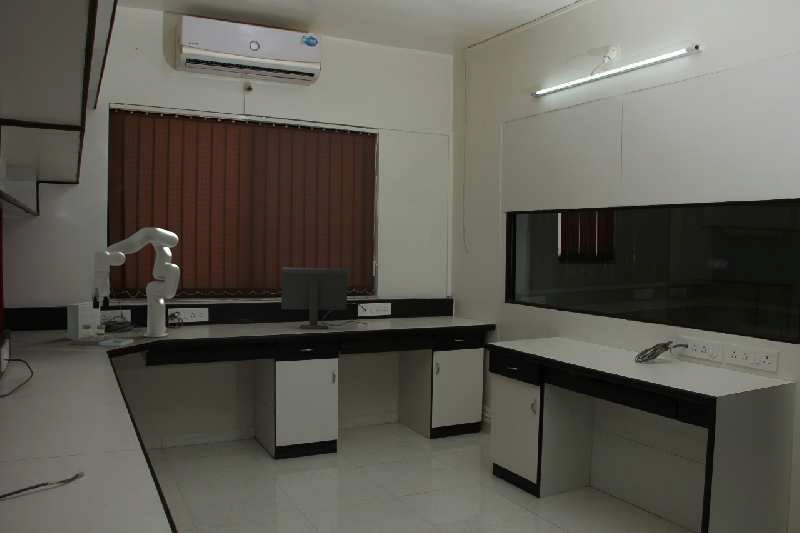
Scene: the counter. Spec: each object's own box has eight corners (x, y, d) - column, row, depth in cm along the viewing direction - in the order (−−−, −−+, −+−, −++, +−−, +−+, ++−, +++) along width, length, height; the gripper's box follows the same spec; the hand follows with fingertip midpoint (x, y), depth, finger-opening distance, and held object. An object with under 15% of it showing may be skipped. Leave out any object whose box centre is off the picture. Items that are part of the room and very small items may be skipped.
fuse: (85, 341, 328) (85, 324, 328) (92, 341, 328) (92, 324, 327) (81, 342, 324) (81, 325, 324) (88, 342, 324) (88, 325, 324)
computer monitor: (346, 326, 427) (347, 268, 426) (346, 329, 411) (347, 269, 410) (282, 325, 424) (283, 267, 423) (279, 328, 408) (280, 267, 407)
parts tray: (112, 343, 330) (113, 338, 330) (133, 343, 330) (133, 339, 329) (99, 347, 316) (99, 342, 316) (120, 348, 316) (120, 343, 315)
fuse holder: (87, 341, 334) (88, 334, 334) (115, 342, 333) (115, 335, 333) (71, 346, 318) (71, 338, 318) (99, 346, 317) (99, 339, 317)
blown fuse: (99, 341, 328) (99, 324, 327) (106, 342, 327) (106, 325, 327) (95, 342, 324) (95, 325, 324) (102, 343, 324) (102, 325, 323)
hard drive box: (90, 337, 350) (90, 301, 349) (100, 338, 347) (101, 302, 347) (66, 340, 335) (67, 303, 335) (77, 341, 333) (78, 304, 332)
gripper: (103, 274, 334) (102, 306, 334) (85, 275, 316) (84, 308, 317) (116, 274, 333) (116, 306, 334) (99, 275, 316) (99, 309, 316)
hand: (100, 307), depth 325 cm, fingers open, 9 cm apart
